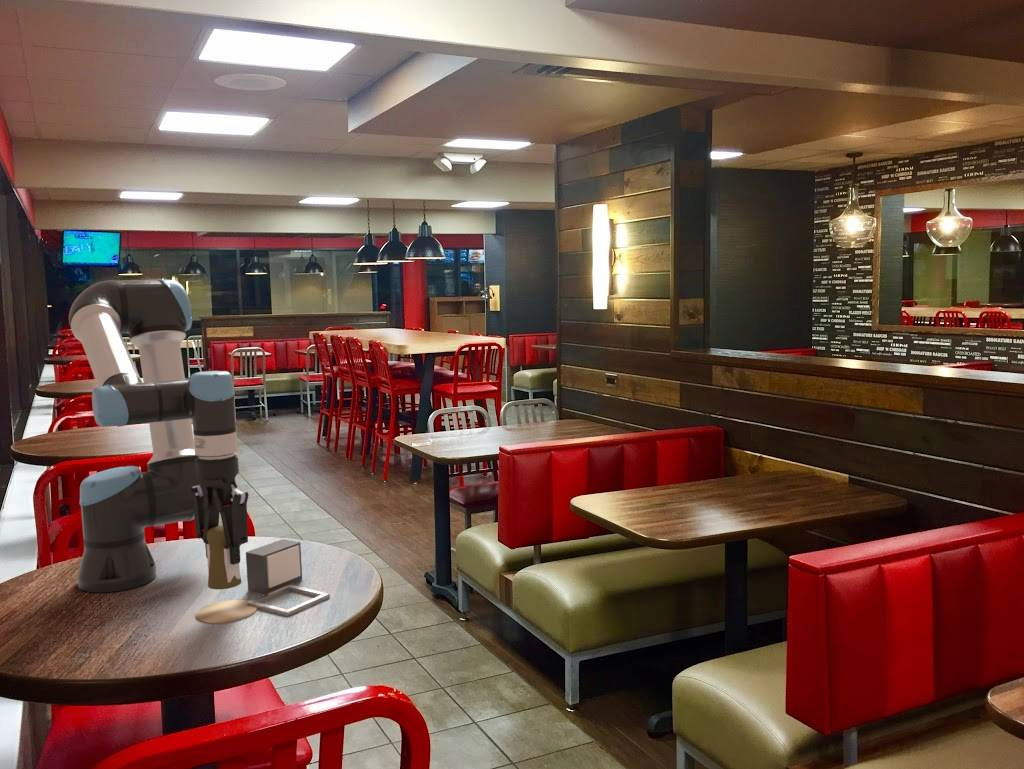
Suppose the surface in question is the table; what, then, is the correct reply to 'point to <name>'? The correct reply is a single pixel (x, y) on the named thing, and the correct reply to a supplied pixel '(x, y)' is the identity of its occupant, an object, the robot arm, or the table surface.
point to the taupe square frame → (318, 598)
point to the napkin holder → (273, 566)
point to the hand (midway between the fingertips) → (224, 577)
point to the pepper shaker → (218, 561)
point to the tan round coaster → (225, 611)
